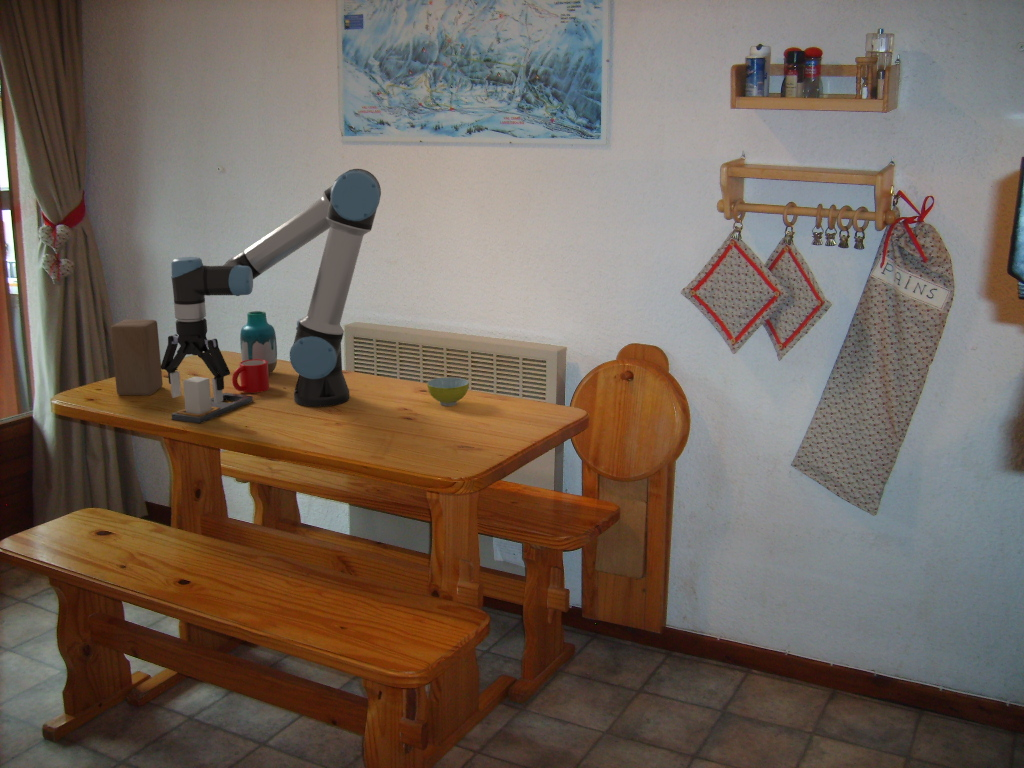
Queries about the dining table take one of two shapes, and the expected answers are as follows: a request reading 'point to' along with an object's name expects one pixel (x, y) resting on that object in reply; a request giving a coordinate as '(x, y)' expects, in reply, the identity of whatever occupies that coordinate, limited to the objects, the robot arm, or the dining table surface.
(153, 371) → the block
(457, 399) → the bowl
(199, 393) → the peg
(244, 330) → the vase
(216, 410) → the grey slotted plate
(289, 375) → the dining table surface
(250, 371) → the mug
